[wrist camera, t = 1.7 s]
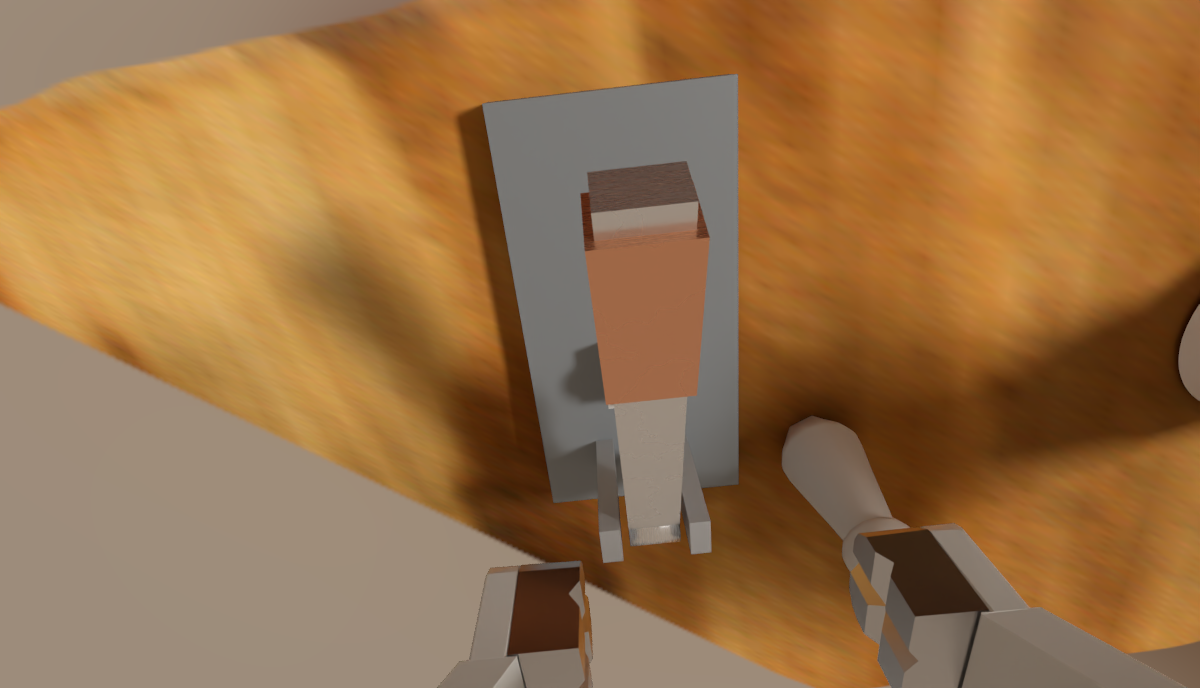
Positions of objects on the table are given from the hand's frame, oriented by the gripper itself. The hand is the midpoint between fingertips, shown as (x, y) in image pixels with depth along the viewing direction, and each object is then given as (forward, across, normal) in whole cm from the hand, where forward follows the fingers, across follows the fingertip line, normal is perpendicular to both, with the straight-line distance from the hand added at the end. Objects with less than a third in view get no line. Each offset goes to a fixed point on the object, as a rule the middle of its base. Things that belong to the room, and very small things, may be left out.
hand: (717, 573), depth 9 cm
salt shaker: (+29, -13, +19) cm, 37 cm away
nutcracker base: (+29, 0, +7) cm, 30 cm away
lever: (+17, 0, +6) cm, 18 cm away
